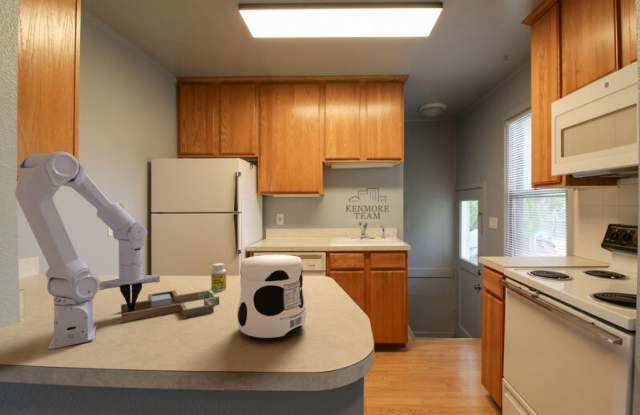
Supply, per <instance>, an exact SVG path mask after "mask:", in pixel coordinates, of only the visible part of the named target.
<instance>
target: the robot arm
mask: <svg viewBox="0 0 640 415" xmlns="http://www.w3.org/2000/svg"><path fill="white" fill-rule="evenodd" d="M76 158H77V157H75V156H74V155H72V154H71V153H69V152H66V151H61V150H60V151H54V152H47V153H31V154H29V155H27V156H25V157H24V158H23V160H22V161H21V162H20V163H19V164H18V165H17V166H16V168H17V171H18V175H17V176H18V177H17V181H16V187H15V191H14V192H15V193H14V194H15V197H16V200H17V202H18V204H19V206H20V208H21V210H22V213H23V215H24V217H25V218H26V221H27V223H28V225H29V228H30V229H31V231H32V234H33V235H34V238H35V240H36V242H37V245H38V246H39V248H40V250H41V253H42V255H43V256H44V259H45V261H46V263H47V264H48V267H49V268H48V269H47V271H46V272H45V277H46V279H47V283H46V284H47V285H46V290H47V292H48V294H50V295H51V296H52V297H53V337H52V339H51V341H50V343H49V345H48V346H47V347H48V348H47V350H55V349H59V348H62V347H63V348H64V347H68V346H72V345H78V344H82V343H88V342H91V341H94V340H95V335H96V330H97V329H96V328H97V325H95V324H94V299H95V295H96V294H97V293H98V292H99V291H103V290H106V289H114V288H116V289H117V288H119V292H120V293H121V295H122V296H123V298H124V300H125V304H127V306H128V312H134V311H135V310H134V308H135V304H136V302H137V300H138V298H139V295H140V293H141V292H142V289H143V285H144V284H152V283H160V281H161V276H160V274H151V275H149V274H148V275H143V247H144V244H145V243H144V242H145V239H146V238H147V236H148V230H146V227H145V226H144V224H142V223H141V222H138V221H136V220H135V218H134V216H131V215H130V214H129V212H127V210H125V209H124V207H125V206H124V205H123V204H122V203H119V202H117V201H110V200H109V198H108V197H107V196H106V195H105V194H104V193H103V191H102V190H101V189H100V188H99V187H98V186H97V184H96V183H95V182H94V181H93V180H92V178H91V177H90V176H89V175H88V174H87V171H86V169H85V166H84V165H83V164H81V163H80V162H79V161H78V160H77V159H76ZM62 186H64V187H69V188H72V189H73V190H74V191H75V192H77V194H79V195H80V196H81V197H83V198H84V199H85V200H86V201H87V202H88V203H89V204H90V205H91V206H93V207H94V208H95V209H96V210H97V211H96V216H97V218H99V219H100V220H101V221H102V223H104V224H105V225H106V226H107V227H108V228H109V229H111V231H112V236H113V238H114V239H115V240H117V241H118V278H114V279H110V280H103V281H100V279H99V277H98V276H97V275H96V274H94V273H93V272H92V271H91V269H90V266H88V264H86V263H85V262H84V261H81V260H80V258H79V256H78V254H77V252H76V250H75V246H74V245H73V244H74V243H73V242H72V239H71V237H70V235H69V233H68V231H67V228H66V227H65V224H64V222H63V219H62V217H61V215H60V213H59V210H58V208H57V206H56V203H55V200H54V198H53V197H54V195H55V194H57V191H58V190H59V189H60V188H61V187H62ZM128 312H127V313H128Z"/></svg>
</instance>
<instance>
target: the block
mask: <svg viewBox="0 0 640 415" xmlns="http://www.w3.org/2000/svg"><path fill="white" fill-rule="evenodd" d="M168 305H172V298H171V297H170V295H169V294H165V295H158V296H152V297H151V308H156V307H162V306H168ZM151 308H150V309H151Z"/></svg>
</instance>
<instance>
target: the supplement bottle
mask: <svg viewBox="0 0 640 415" xmlns="http://www.w3.org/2000/svg"><path fill="white" fill-rule="evenodd" d="M210 275H211V277H210V282H211V283H210V284H211V286H210V287H211V289H210V290H212V291H213V292H223V291H225V290H227V270H226V269H225V263H223V262H221V263H218V262H217V263H213V264H212V270H211V272H210Z"/></svg>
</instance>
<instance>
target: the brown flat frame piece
mask: <svg viewBox="0 0 640 415" xmlns="http://www.w3.org/2000/svg"><path fill="white" fill-rule="evenodd" d="M165 294H169V295H170V297H171V300H172V301H173V302H174V304H171V305H168V306H162V307H156V308H151V297H152V296H158V295H165ZM202 299H203V305H200V306H196V307H191V308H187V307H186V305H185V303H186V302H190V301H195V300H196V301H197V300H202ZM184 302H185V303H184ZM216 305H220V297H219V295H218V294H216V293H215V291H212V289H207V290H202V291H195V292H190V293H189V292H188V293H185V294H184V293H183V294H178V293H177V291H176V290H169V291H162V292H155V293H150V294H147V299H146V300H141V301H136V304H135V308H134V311H131V312H128V306H127V303H121V304H120V313H121V323H122V322H124V323H128V322H127V321H129V322H133V321H132V320H134V321H138V320H137V319H139V320H144V319H143V318H145V319H150V318H154V317H158V316H165V315H171V314H175V313H180V314H181V315H182V317H183V319H188V318H189V319H190V318H194V317H199V316H203V315H208V314H212V313H214V306H216ZM149 317H150V318H149Z"/></svg>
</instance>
